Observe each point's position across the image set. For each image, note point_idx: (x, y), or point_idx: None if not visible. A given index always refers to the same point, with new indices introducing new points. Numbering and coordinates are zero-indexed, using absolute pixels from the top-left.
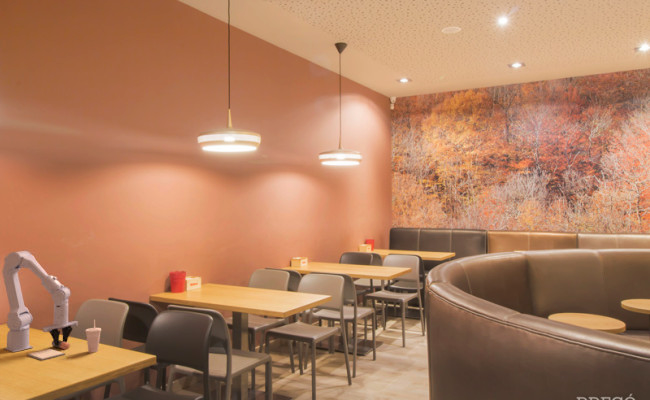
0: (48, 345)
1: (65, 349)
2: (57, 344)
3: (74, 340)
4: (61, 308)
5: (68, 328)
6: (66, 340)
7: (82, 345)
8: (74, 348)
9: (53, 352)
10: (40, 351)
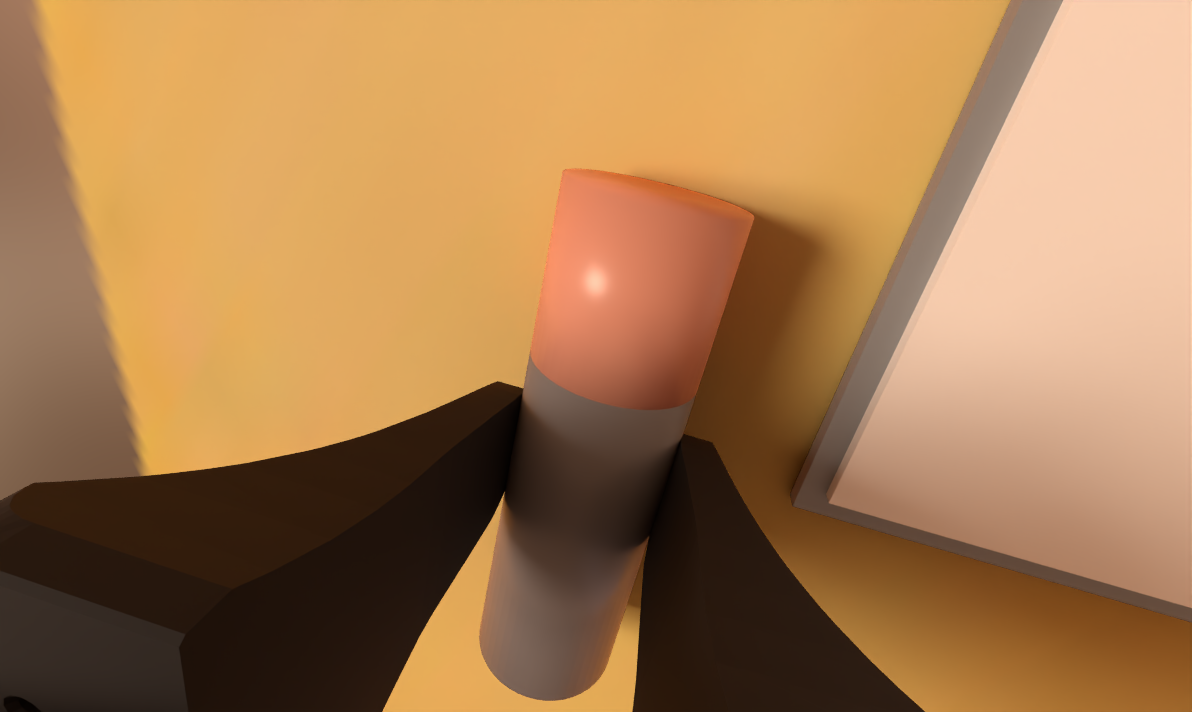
0: None
1: (684, 190)
2: (710, 453)
3: None
4: None
5: (105, 670)
6: (478, 404)
7: (288, 99)
8: (526, 57)
9: (1166, 134)
10: (1075, 532)
